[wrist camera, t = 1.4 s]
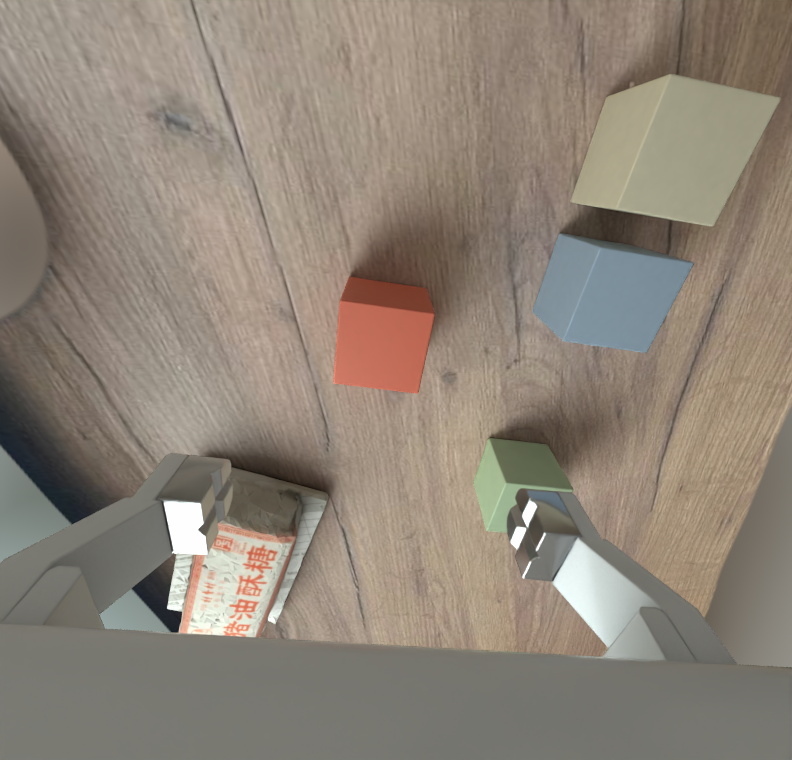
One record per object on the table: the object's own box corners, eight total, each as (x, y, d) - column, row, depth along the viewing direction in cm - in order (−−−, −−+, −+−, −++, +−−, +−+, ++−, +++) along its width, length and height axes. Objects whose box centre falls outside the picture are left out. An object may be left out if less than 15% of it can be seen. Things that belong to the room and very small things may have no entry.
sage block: (488, 437, 27) (505, 482, 23) (547, 444, 27) (574, 489, 23) (472, 482, 29) (485, 531, 25) (527, 488, 29) (549, 537, 25)
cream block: (605, 96, 17) (670, 72, 13) (694, 114, 18) (783, 96, 14) (569, 202, 19) (615, 209, 15) (649, 216, 20) (714, 226, 16)
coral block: (349, 276, 21) (339, 299, 17) (426, 287, 21) (435, 313, 17) (342, 348, 23) (333, 383, 19) (413, 357, 23) (418, 394, 20)
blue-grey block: (558, 232, 20) (600, 246, 16) (636, 245, 20) (695, 262, 16) (531, 311, 22) (562, 341, 18) (601, 322, 23) (647, 353, 19)
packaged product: (164, 505, 23) (321, 542, 25) (198, 453, 27) (330, 488, 29) (145, 649, 31) (265, 668, 33) (174, 592, 35) (279, 611, 37)
